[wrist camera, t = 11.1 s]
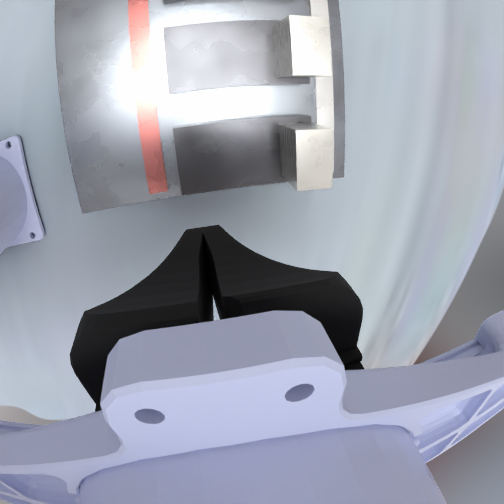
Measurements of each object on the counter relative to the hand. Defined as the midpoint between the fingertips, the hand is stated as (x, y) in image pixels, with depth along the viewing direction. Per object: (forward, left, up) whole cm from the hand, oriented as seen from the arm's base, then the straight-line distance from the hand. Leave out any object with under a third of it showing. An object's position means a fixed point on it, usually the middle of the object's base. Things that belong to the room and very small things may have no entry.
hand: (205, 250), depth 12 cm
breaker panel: (+1, +12, -10) cm, 16 cm away
